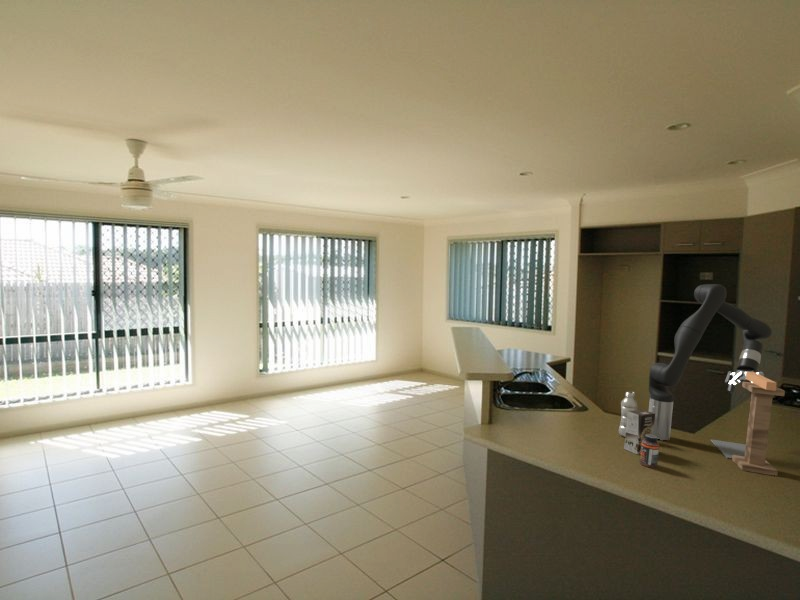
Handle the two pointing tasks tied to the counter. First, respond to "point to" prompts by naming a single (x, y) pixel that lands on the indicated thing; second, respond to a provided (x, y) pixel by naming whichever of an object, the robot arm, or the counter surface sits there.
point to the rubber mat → (730, 448)
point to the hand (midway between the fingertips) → (740, 393)
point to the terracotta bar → (761, 381)
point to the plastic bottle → (626, 410)
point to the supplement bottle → (649, 451)
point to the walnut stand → (758, 430)
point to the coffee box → (638, 429)
